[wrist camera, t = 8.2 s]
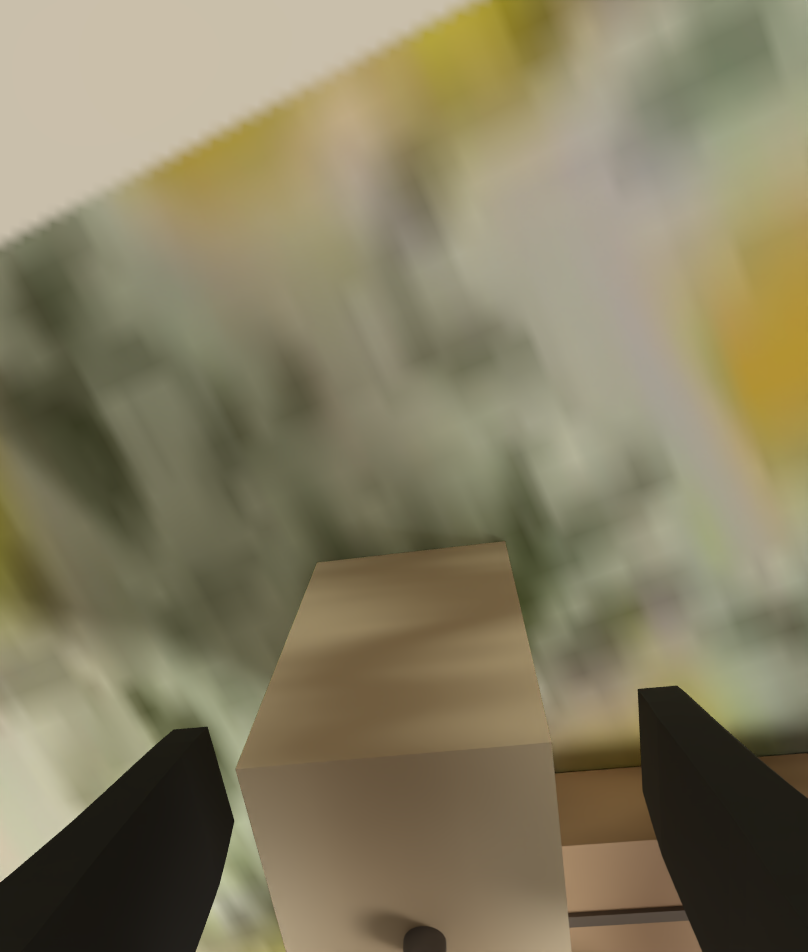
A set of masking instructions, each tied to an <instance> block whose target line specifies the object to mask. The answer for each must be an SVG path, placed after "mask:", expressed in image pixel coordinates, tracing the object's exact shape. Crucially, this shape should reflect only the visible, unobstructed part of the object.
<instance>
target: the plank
mask: <svg viewBox="0 0 808 952" xmlns="http://www.w3.org/2000/svg"><path fill="white" fill-rule="evenodd" d="M758 758H759V759H760V760H762V761H763V762H764V763H765V764H766V765H768V766H769V767H770V768H771V769H772V770H774V771H775V772H776V773H777V774H778V775H780V776H781V777H782V778H783V779H784V780H786V781H787V782H788V783H789V784H790V785H792V786H793V787H794V788H795V789H797V790H798V791H799V792H801V793H802V794H803V795H804V796H806V797H807V798H808V753H802V754H790V755H777V756H765V757H758ZM555 782H556V793H557V803H558V814H559V824H560V835H561V846H562V856H563V867H564V877H565V888H566V898H567V909H568V919H569V930H570V941H571V951H572V952H702V950H701V948H700V946H699V943H698V941H697V938H696V936H695V934H694V931H693V929H692V927H691V924H690V922H689V920H688V917H687V915H686V913H685V910H684V908H683V905H682V903H681V901H680V898H679V896H678V893H677V891H676V889H675V886H674V884H673V882H672V879H671V877H670V874H669V872H668V870H667V867H666V865H665V862H664V860H663V857H662V855H661V851H660V848H659V845H658V842H657V838H656V835H655V832H654V829H653V826H652V822H651V819H650V815H649V812H648V808H647V805H646V802H645V798H644V795H643V791H642V770H641V767H629V768H617V769H605V770H592V771H580V772H568V773H555Z"/></svg>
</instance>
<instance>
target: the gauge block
mask: <svg viewBox="0 0 808 952" xmlns="http://www.w3.org/2000/svg"><path fill="white" fill-rule="evenodd" d="M236 773H237V777H238V780H239V784H240V787H241V791H242V795H243V798H244V802H245V805H246V809H247V812H248V816H249V820H250V823H251V827H252V830H253V834H254V838H255V841H256V845H257V848H258V852H259V856H260V859H261V863H262V866H263V870H264V874H265V877H266V881H267V884H268V888H269V892H270V895H271V899H272V902H273V906H274V910H275V913H276V917H277V920H278V924H279V928H280V931H281V935H282V938H283V942H284V945H285V949H286V952H572V951H571V941H570V930H569V919H568V909H567V898H566V888H565V877H564V867H563V856H562V846H561V835H560V824H559V814H558V803H557V793H556V782H555V772H554V761H553V751H552V741H551V737H550V733H549V728H548V724H547V720H546V715H545V711H544V707H543V703H542V698H541V694H540V690H539V685H538V681H537V677H536V672H535V668H534V664H533V659H532V655H531V651H530V646H529V642H528V638H527V633H526V629H525V625H524V620H523V616H522V612H521V608H520V603H519V599H518V595H517V590H516V586H515V582H514V577H513V573H512V569H511V564H510V560H509V556H508V551H507V547H506V543H505V541H501V542H493V543H484V544H475V545H466V546H458V547H449V548H440V549H431V550H423V551H414V552H405V553H396V554H387V555H379V556H370V557H361V558H352V559H344V560H335V561H326V562H317V564H316V566H315V569H314V571H313V574H312V576H311V579H310V581H309V584H308V587H307V589H306V592H305V594H304V597H303V599H302V602H301V604H300V607H299V609H298V612H297V614H296V617H295V619H294V622H293V625H292V627H291V630H290V632H289V635H288V637H287V640H286V642H285V645H284V647H283V650H282V652H281V655H280V657H279V660H278V663H277V665H276V668H275V670H274V673H273V675H272V678H271V680H270V683H269V685H268V688H267V690H266V693H265V696H264V698H263V701H262V703H261V706H260V708H259V711H258V713H257V716H256V718H255V721H254V723H253V726H252V728H251V731H250V734H249V736H248V739H247V741H246V744H245V746H244V749H243V751H242V754H241V756H240V759H239V761H238V764H237V766H236Z"/></svg>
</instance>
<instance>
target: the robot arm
mask: <svg viewBox="0 0 808 952" xmlns="http://www.w3.org/2000/svg"><path fill="white" fill-rule="evenodd" d="M638 704H639V726H640V748H641V770H642V791H643V795H644V798H645V802H646V805H647V808H648V812H649V815H650V819H651V822H652V826H653V829H654V832H655V835H656V838H657V842H658V845H659V848H660V851H661V855H662V857H663V860H664V862H665V865H666V867H667V870H668V872H669V874H670V877H671V879H672V882H673V884H674V886H675V889H676V891H677V893H678V896H679V898H680V901H681V903H682V905H683V908H684V910H685V913H686V915H687V917H688V920H689V922H690V924H691V927H692V929H693V931H694V934H695V936H696V938H697V941H698V943H699V946H700V948H701V950H702V952H808V798H807V797H806V796H804V795H803V794H802V793H801V792H799V791H798V790H797V789H795V788H794V787H793V786H792V785H790V784H789V783H788V782H787V781H786V780H784V779H783V778H782V777H781V776H780V775H778V774H777V773H776V772H775V771H774V770H772V769H771V768H770V767H769V766H768V765H766V764H765V763H764V762H763V761H762V760H760V759H759V758H758V757H757V756H756V755H754V754H753V753H752V752H751V751H750V750H749V749H747V748H746V747H745V746H744V745H743V744H742V743H741V742H739V741H738V740H737V739H736V738H735V737H734V736H733V735H732V734H730V733H729V732H728V731H727V730H726V729H725V728H724V727H723V726H721V725H720V724H719V723H718V722H717V721H716V720H715V719H714V718H713V717H711V716H710V715H709V714H708V713H707V712H706V711H705V710H704V709H703V708H702V707H701V706H699V705H698V704H697V703H696V702H695V701H694V700H693V699H692V698H691V697H690V696H689V695H687V694H686V693H685V692H684V691H683V690H682V689H680V688H679V687H678V686H667V687H656V688H644V689H638ZM233 825H234V818H233V815H232V811H231V808H230V804H229V801H228V797H227V794H226V790H225V787H224V783H223V779H222V776H221V772H220V769H219V765H218V762H217V758H216V755H215V751H214V748H213V744H212V741H211V737H210V734H209V730H208V727H199V728H187V729H176V730H173V731H172V732H170V733H169V734H168V735H167V736H165V737H164V738H163V739H162V740H161V741H160V742H158V743H157V744H156V745H155V746H154V747H153V748H152V749H151V750H150V751H148V752H147V753H146V754H145V755H144V756H143V757H142V758H141V759H140V760H139V761H138V762H136V763H135V764H134V765H133V766H132V767H131V768H130V769H129V770H128V771H127V772H126V773H125V774H123V775H122V776H121V777H120V778H119V779H118V780H117V781H116V782H115V783H114V784H113V785H112V786H110V787H109V788H108V789H107V790H106V791H105V792H104V793H103V794H102V795H101V796H100V797H98V798H97V799H96V800H95V801H94V802H93V803H92V804H91V805H90V806H89V807H87V808H86V809H85V810H84V811H83V812H82V813H81V814H80V815H79V816H78V817H77V818H75V819H74V820H73V821H72V822H71V823H70V824H69V825H68V826H66V827H65V828H64V829H63V830H62V831H61V832H59V833H58V834H57V835H56V836H55V837H53V838H52V839H51V840H50V841H49V842H48V843H46V844H45V845H44V846H43V847H42V848H41V849H39V850H38V851H37V852H36V853H35V854H34V855H32V856H31V857H30V858H29V859H28V860H27V861H25V862H24V863H23V864H22V865H21V866H20V867H18V868H17V869H16V870H15V871H14V872H12V873H11V874H10V875H9V876H8V877H6V878H5V879H4V880H3V881H1V882H0V952H196V949H197V946H198V943H199V941H200V938H201V935H202V932H203V930H204V927H205V924H206V921H207V918H208V916H209V913H210V910H211V907H212V904H213V902H214V899H215V896H216V893H217V890H218V887H219V884H220V880H221V876H222V872H223V868H224V864H225V860H226V856H227V852H228V847H229V843H230V838H231V834H232V829H233Z"/></svg>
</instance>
